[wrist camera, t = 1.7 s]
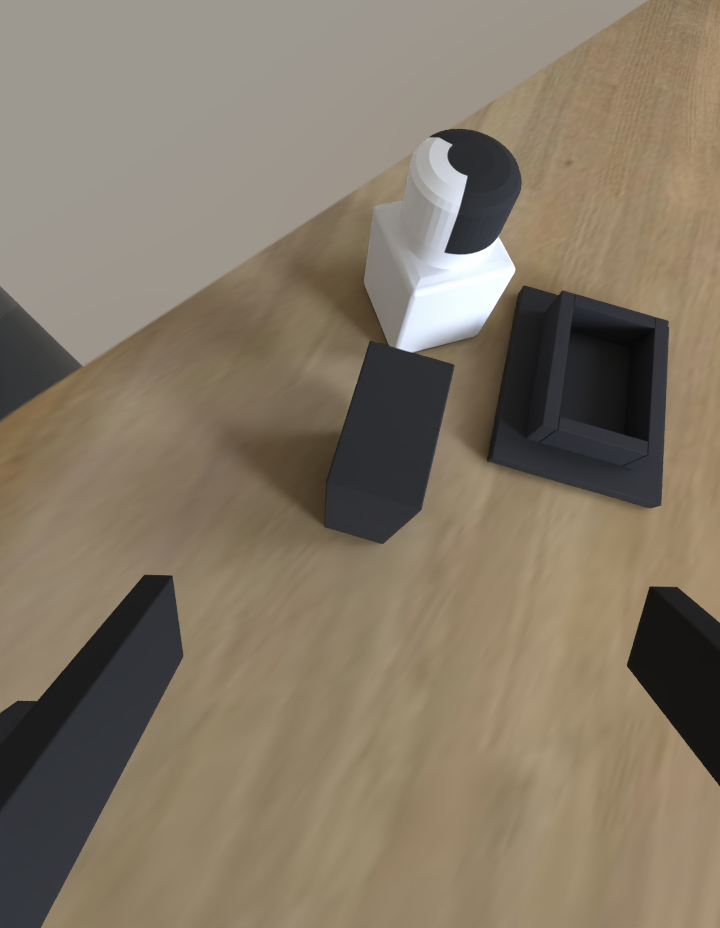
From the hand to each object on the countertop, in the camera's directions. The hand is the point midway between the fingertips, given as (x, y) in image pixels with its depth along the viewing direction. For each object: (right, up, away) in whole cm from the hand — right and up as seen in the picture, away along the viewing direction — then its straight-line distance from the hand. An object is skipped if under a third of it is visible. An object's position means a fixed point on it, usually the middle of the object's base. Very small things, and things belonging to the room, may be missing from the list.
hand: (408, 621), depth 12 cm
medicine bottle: (+3, +16, +21) cm, 27 cm away
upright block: (-1, +3, +17) cm, 17 cm away
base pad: (+15, +10, +20) cm, 27 cm away
